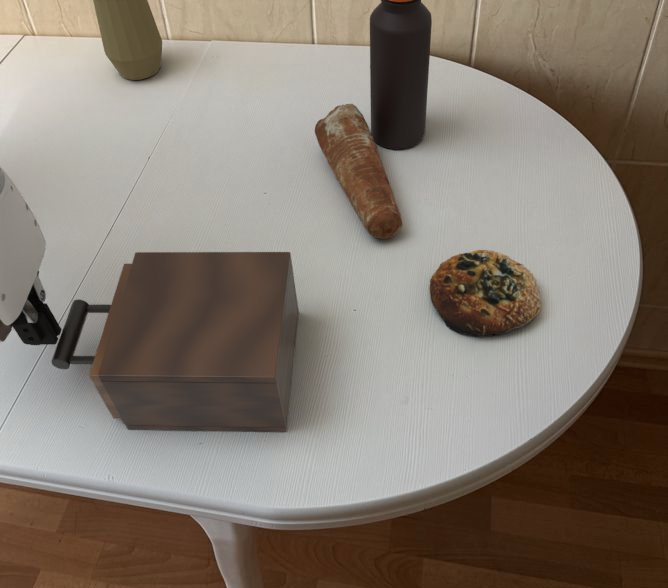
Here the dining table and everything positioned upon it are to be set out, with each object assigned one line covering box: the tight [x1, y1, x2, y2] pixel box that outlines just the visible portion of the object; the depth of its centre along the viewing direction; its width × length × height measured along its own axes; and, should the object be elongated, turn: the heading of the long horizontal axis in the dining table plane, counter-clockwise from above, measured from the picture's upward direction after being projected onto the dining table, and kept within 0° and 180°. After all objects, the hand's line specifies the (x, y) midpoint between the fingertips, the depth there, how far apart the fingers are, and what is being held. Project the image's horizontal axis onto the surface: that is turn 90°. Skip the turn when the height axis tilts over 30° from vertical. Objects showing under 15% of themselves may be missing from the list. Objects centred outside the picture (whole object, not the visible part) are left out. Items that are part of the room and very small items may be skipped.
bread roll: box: [428, 249, 542, 337], centre depth 70 cm, size 11×11×5 cm
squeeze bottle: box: [92, 0, 163, 81], centre depth 93 cm, size 8×8×18 cm
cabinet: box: [98, 251, 300, 433], centre depth 64 cm, size 15×14×9 cm
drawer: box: [50, 263, 132, 420], centre depth 65 cm, size 18×13×7 cm
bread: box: [314, 103, 403, 240], centre depth 80 cm, size 6×19×6 cm, turn 14°
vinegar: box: [369, 0, 433, 150], centre depth 80 cm, size 7×7×20 cm
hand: (43, 337), depth 65 cm, fingers closed
